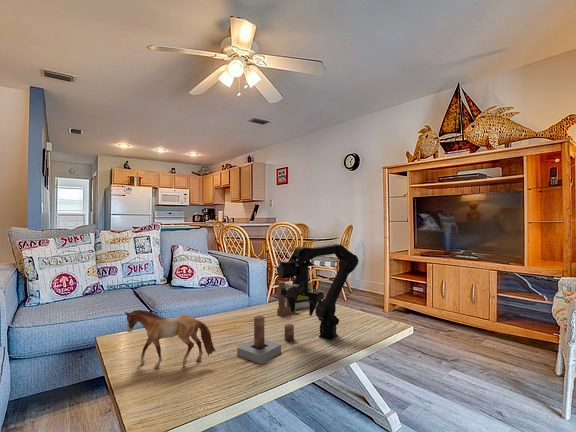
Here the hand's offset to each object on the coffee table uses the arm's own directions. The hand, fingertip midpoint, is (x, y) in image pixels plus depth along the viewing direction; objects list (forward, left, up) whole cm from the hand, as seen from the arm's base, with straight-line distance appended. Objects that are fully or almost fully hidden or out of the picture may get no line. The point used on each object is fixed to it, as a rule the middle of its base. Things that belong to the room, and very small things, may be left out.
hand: (301, 313), depth 129 cm
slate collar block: (+7, +19, -12) cm, 24 cm away
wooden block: (+29, -27, -12) cm, 42 cm away
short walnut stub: (+6, +1, -12) cm, 13 cm away
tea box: (+32, -42, -12) cm, 54 cm away
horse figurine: (+24, +46, -12) cm, 53 cm away
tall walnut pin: (+7, +19, -12) cm, 23 cm away
